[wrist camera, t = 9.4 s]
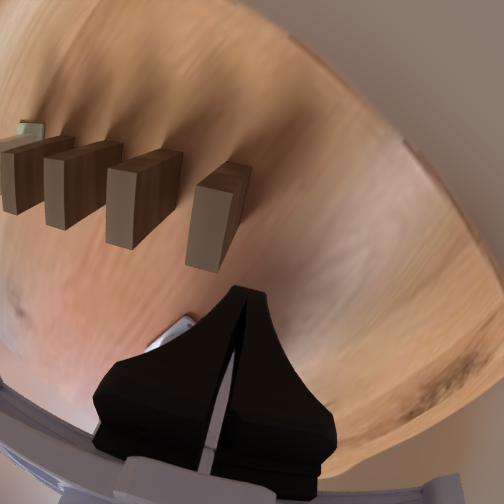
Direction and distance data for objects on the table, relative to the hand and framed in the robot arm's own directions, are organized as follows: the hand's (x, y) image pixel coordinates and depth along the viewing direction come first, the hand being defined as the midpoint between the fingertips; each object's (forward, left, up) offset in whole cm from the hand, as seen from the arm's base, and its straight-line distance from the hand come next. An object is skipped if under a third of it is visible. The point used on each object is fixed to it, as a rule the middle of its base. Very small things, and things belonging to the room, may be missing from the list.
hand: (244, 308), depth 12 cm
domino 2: (+7, +3, -11) cm, 13 cm away
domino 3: (+11, +6, -11) cm, 17 cm away
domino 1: (+3, 0, -11) cm, 11 cm away
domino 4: (+16, +8, -11) cm, 21 cm away
